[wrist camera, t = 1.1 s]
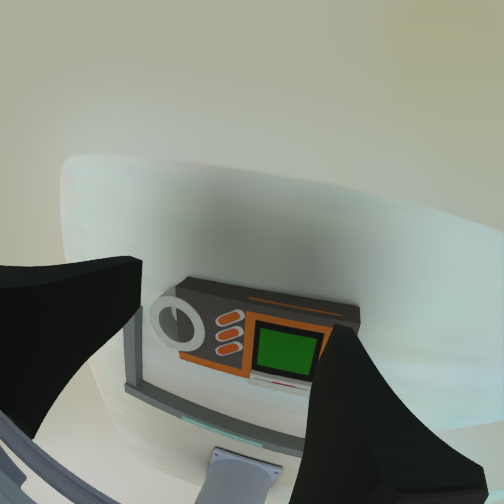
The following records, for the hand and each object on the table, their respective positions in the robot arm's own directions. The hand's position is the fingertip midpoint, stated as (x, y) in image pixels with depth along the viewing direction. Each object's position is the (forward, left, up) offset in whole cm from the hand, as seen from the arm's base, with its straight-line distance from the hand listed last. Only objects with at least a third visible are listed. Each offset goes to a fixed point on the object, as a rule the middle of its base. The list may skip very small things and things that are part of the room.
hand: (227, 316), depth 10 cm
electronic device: (-7, 0, -10) cm, 12 cm away
